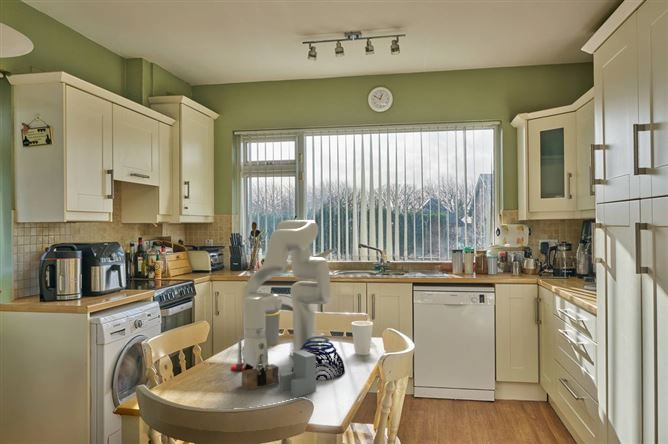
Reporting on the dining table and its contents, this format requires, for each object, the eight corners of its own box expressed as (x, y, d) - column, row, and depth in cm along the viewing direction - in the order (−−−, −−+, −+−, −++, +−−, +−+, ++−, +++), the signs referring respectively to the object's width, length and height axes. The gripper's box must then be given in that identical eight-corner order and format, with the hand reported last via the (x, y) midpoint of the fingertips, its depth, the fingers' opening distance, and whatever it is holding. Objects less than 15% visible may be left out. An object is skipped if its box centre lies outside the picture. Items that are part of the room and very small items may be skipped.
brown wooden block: (272, 379, 163) (272, 364, 163) (278, 382, 160) (278, 366, 160) (241, 387, 155) (241, 370, 156) (247, 390, 152) (247, 373, 152)
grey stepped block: (279, 389, 153) (279, 353, 153) (301, 383, 158) (301, 349, 158) (294, 397, 145) (294, 360, 145) (317, 391, 151) (317, 355, 151)
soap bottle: (284, 341, 218) (284, 297, 219) (272, 348, 206) (272, 301, 206) (260, 339, 222) (259, 296, 223) (247, 346, 210) (247, 300, 210)
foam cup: (353, 349, 202) (352, 320, 202) (373, 350, 200) (373, 321, 201) (350, 355, 192) (350, 325, 193) (372, 356, 191) (371, 325, 191)
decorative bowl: (339, 362, 183) (339, 327, 183) (349, 379, 163) (349, 339, 163) (290, 365, 179) (290, 329, 180) (294, 382, 160) (294, 342, 160)
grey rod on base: (237, 364, 183) (228, 370, 173) (237, 332, 183) (228, 336, 174) (257, 365, 181) (249, 371, 172) (257, 333, 182) (249, 337, 173)
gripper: (276, 335, 152) (276, 386, 152) (253, 326, 166) (253, 373, 165) (256, 338, 147) (256, 391, 147) (234, 329, 161) (234, 377, 161)
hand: (255, 381), depth 156 cm, fingers open, 9 cm apart
